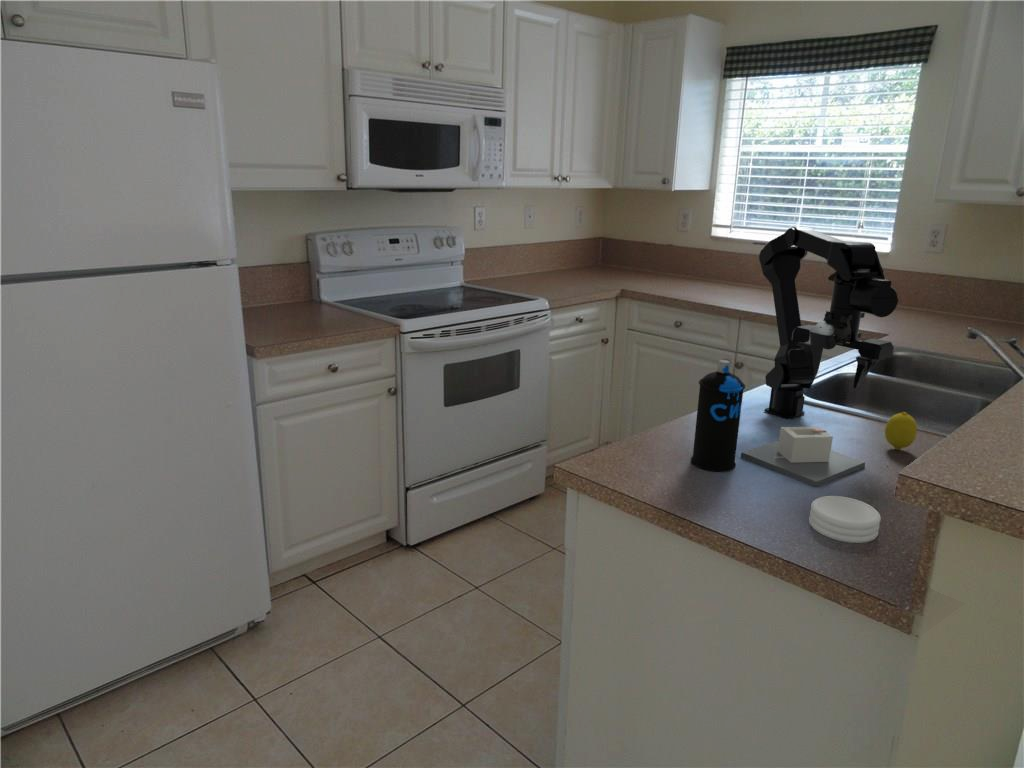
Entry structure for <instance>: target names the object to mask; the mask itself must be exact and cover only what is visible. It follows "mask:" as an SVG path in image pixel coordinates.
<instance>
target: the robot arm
mask: <svg viewBox="0 0 1024 768" xmlns="http://www.w3.org/2000/svg"><path fill="white" fill-rule="evenodd" d="M808 252H809V253H811V254H813V255H816V256H818V257H820V258H823V259H825V260H826V262H827V263H826V265H828V266H829V267H830V268H831V269H833V270H834V273H832V274H830V275H829V276H828V277H827V280H828V281H830V282H831V281H832V282H833V290H832V294H831V295H832V296H831V302H830V307H829V308H830V309H829V310H826V312H825V314H824V318H823V320H822V321H819V322H818V323H817V324H815V325H811V324H805V325H804V324H803V325H802V321H801V320H802V319H801V312H800V307H799V305H800V304H799V299H798V293H797V285H796V278H797V277H798V274H799V272H800V270H801V263H802V262H801V261H802V260H803V259H804V258H805V257H806V256H807V255H808ZM758 260H759V263H760V266H761V268H760V269H761V272H762V274H763V276H764V277H765V278H766V279H767V280H768V282H769V283H770V284H771V287H772V288H771V289H772V294H773V296H772V297H773V302H774V310H775V311H774V312H775V316H776V317H775V318H776V326H777V332H778V339H779V349H778V350H777V353H776V355H775V356H774V367H773V368H772V369H771V370H770V371H769V372H768V373H766V375H765V385H766V386H767V387H770V388H771V389H770V397H769V405H768V407H766V408H764V410H763V411H764V412H766V413H769V414H773V415H775V416H778V417H781V418H785V419H788V420H790V419H793V418H796V417H799V416H803V415H805V413H806V412H805V411H804V406H805V405H804V404H805V398H806V397H805V395H804V393H805V390H806V389H807V390H810V389H812V386H813V384H814V381H815V379H816V377H817V375H818V372H819V369H820V364H821V360H822V355H823V353H824V352H823V350H832V349H834V348H836V346H840V347H843V348H844V347H845V348H849V349H851V350H852V349H853V350H857V352H858V354H859V356H856V357H855V360H856V362H857V365H856V369H855V375H854V380H853V389H856V390H857V389H858V388H859V387H860V386H861V384H862V383H863V381H864V380H865V379H866V377H867V375H868V374H869V373H870V371H871V370H872V368H873V367H874V366H875V365H876V364H877V363H878V362H879V361H883V360H885V359H886V358H890V357H893V354H894V350H895V349H894V346H893V343H892V341H890V340H889V341H888V340H884V339H883V340H882V339H879V338H876V337H875V338H874V337H873V338H870V339H869V338H868V339H864V340H860V338H862V332H860V331H859V329H860V323H861V319H862V318H863V319H864V318H865V314H868V315H871V316H875V317H878V318H885V317H888V316H890V315H891V314H892V313H893V312H894V311H895V310H896V308H897V306H898V303H899V298H898V294H897V292H896V290H895V289H894V288H893V287H892V280H890V279H886V278H885V274H884V269H883V267H882V265H881V261H880V258H879V256H878V251H877V250H876V246H875V245H874V244H873V243H872V242H867V241H866V242H865V241H850V240H849V241H847V240H843V239H838V238H836V237H834V236H831V235H830V234H826V233H823V232H820V231H818V230H815V229H813V228H811V227H810V226H792V227H789V228H788V229H787V230H786V231H785V232H784V233H782V234H781V235H779V236H777V237H775V238H773V239H772V240H770V241H768V242H767V244H766V245H765V246H764V247H763V248H762V249H761V250H760V252H759V256H758Z"/></svg>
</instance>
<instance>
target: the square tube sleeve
mask: <svg viewBox="0 0 1024 768" xmlns="http://www.w3.org/2000/svg"><path fill="white" fill-rule="evenodd" d="M833 438H834V437H833V435H831V434H830V433H828V432H827V430H826V429H823V428H821V427H819V426H781V427H780V430H779V438H778V440H779V444H778V452H779V453H780V454H781V455H782V456H784V457H785V458H786V459H787V460H788V461H789V462H791V463H799V462H829V458H830V452H831V450H832V445H833Z"/></svg>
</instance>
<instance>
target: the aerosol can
mask: <svg viewBox="0 0 1024 768" xmlns="http://www.w3.org/2000/svg"><path fill="white" fill-rule="evenodd" d="M730 364H731V361H729V360H726V359H720V360H718V366H717V367H718V368H717V370H716V371H713V372H709V373H708V374H705V375H704V376H703V377H702V378H701V379H699V381H698V384H699V392H698V393H699V394H698V402H697V412H696V421H695V429H694V430H695V432H694V440H693V441H694V442H693V449H692V450H693V451H692V456H691V458H690V462H691V463H692V464H693V465H694V466H695V467H697V468H699V469H701V470H704V471H709V472H714V473H715V472H716V473H717V472H719V473H725V472H729V471H733V470H734V469H735V468H736V467H737V465H736V464H737V463H736V462H735V461H736V453H737V447H738V446H737V445H738V437H739V429H740V421H741V413H742V405H743V398H744V397H743V396H744V390H745V388H746V385H745V383H744V382H743V381H742V380H741V378H740V377H738V376H737V375H735V374H733V373H731V372H730V366H731V365H730Z"/></svg>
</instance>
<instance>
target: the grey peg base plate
mask: <svg viewBox="0 0 1024 768" xmlns="http://www.w3.org/2000/svg"><path fill="white" fill-rule="evenodd" d="M778 444H779V439H777V440H775V441H774V440H773V441H771V442H768V443H765V444H762V445H759V446H756V447H753V448H750V449H747V450H743V451H741V453H740V457H741V458H742V459H745V460H747V461H750V462H752V463H756V464H758V465H760V466H762V467H766V468H767V469H770V470H772V471H775V472H777V473H780V474H782V475H785V476H787V477H790V478H793V479H795V480H798V481H800V482H802V483H805V484H808V485H810V486H812V487H815V488H816V487H820V486H822V485H824V484H826V483H829V482H831V481H833V480H837V479H839V478H840V477H843V476H846V475H848V474H851V473H853V472H856V471H858V470H860V469H862V468H863V469H864V468H865V466H866V461H863V460H861V459H858V458H855V457H852V456H849V455H847V454H844V453H840V452H839V451H835V450H832V449H831V452H830V458H829V462H799V463H791V462H789V461H788V460H787V459H786V458H785V457H784V456H782V455H781V454H780V453H779V452H778Z"/></svg>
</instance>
